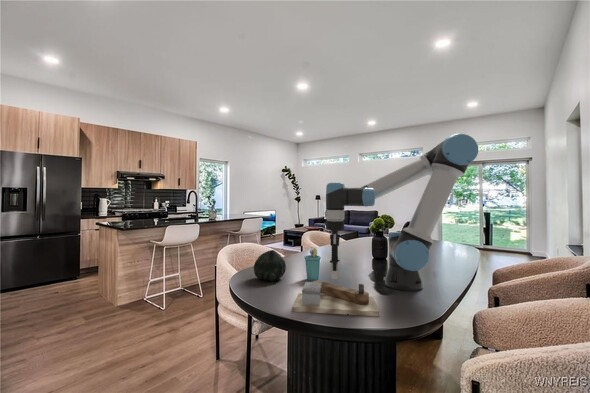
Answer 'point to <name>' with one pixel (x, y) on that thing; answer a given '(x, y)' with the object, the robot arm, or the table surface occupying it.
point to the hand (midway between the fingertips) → (334, 278)
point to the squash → (269, 266)
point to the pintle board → (337, 306)
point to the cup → (312, 265)
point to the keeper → (311, 294)
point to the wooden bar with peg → (345, 293)
